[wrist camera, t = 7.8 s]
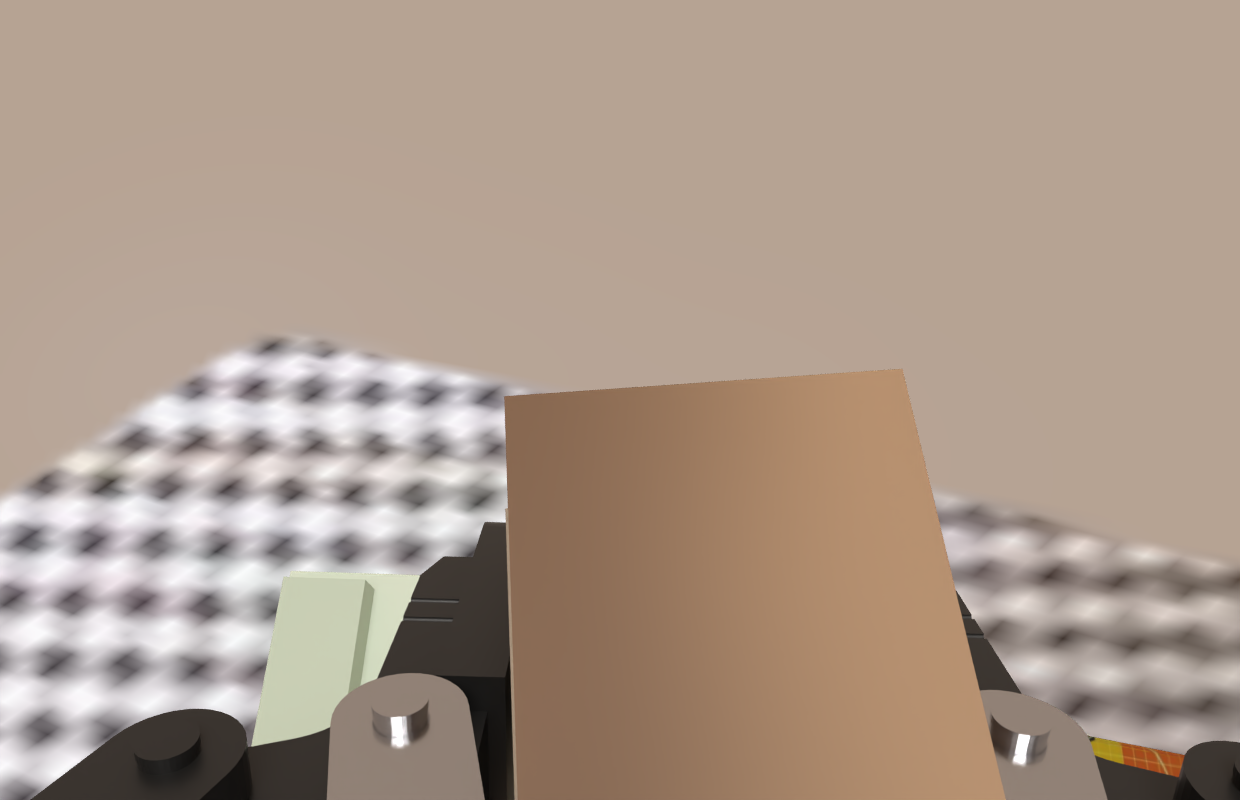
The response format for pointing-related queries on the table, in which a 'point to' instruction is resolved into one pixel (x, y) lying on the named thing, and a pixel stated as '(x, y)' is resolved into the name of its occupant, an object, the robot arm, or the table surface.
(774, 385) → the wooden block
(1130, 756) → the puzzle game
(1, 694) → the table surface
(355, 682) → the plinth
